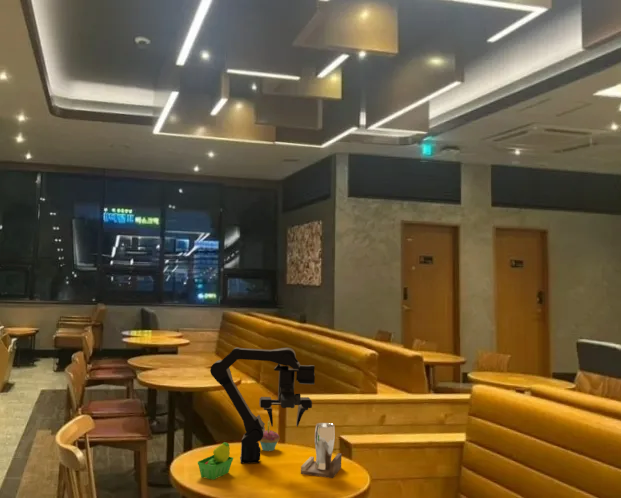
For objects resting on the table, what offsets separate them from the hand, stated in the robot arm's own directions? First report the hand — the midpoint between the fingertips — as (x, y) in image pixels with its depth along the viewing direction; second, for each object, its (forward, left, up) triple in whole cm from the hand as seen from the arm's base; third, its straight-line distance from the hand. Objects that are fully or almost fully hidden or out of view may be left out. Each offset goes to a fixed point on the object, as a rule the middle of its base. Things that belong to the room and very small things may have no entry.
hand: (284, 426), depth 229 cm
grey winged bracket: (+12, -9, -13) cm, 20 cm away
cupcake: (-4, +16, -13) cm, 21 cm away
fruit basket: (-24, -13, -13) cm, 30 cm away
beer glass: (+13, -10, -12) cm, 20 cm away
